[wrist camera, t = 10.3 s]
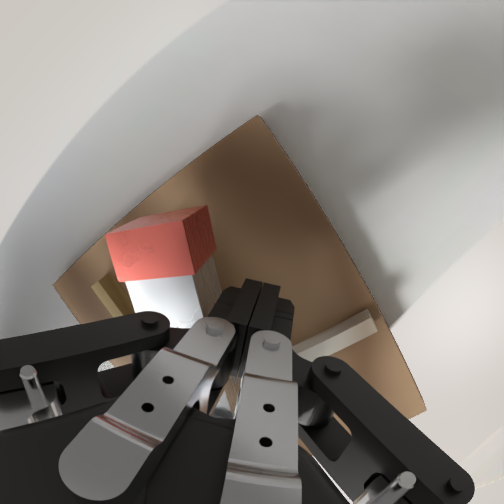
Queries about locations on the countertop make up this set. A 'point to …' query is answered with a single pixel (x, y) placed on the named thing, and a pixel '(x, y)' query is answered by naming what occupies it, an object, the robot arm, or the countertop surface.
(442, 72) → the countertop surface
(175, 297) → the bar
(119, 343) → the robot arm
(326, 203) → the countertop surface
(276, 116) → the countertop surface
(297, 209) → the door board
